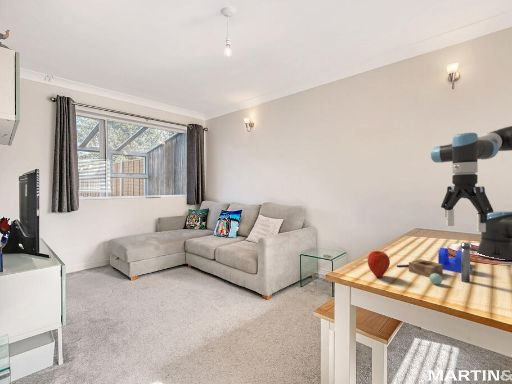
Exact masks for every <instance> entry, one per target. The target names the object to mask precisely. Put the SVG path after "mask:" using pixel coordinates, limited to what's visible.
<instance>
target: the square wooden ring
mask: <svg viewBox="0 0 512 384" xmlns="http://www.w3.org/2000/svg"><path fill="white" fill-rule="evenodd" d="M408 265H409V266H408V272H409V273H413V274H416V275H419V276H423V277H427V278H430V275H431V274H434V273H436V274H439V275H440V276H441V275H442V274H444V273H443V272H444V271H443V264H439V263H438V262H434V261H431V260H430V261H429V260H426V259H422V258H421V259H420V258H419V259H417V260H413V261H409V262H408Z"/></svg>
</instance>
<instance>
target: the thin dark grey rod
mask: <svg viewBox="0 0 512 384" xmlns="http://www.w3.org/2000/svg"><path fill="white" fill-rule="evenodd" d="M396 267H397V268H402V267H403V268H404V267H407V268H409V264H397V265H396Z"/></svg>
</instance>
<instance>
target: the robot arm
mask: <svg viewBox="0 0 512 384" xmlns="http://www.w3.org/2000/svg"><path fill="white" fill-rule="evenodd" d="M508 151H512V125H511V126H506V127H503V128H499V129H497V130H496V129H495V130H493V131H490V132H486V133H484V134H482V135H481V136H478V134H477V132H463V133H458V134H455V135H454V136H453V137H452V143H448V144H445V145H439V146H435V147H433V148H432V149H431V151H430V159H431V161H433V162H434V163H450V162H452V174H453V175H451V176H452V178H451V179H452V181H451V182H452V185H451V186H450V185H449V186H447V189H446V193H445V195H444V198H443V200H442V203H441V206H440V207H441V209H444V210H445V218H446V220H445V223H446V227H454V226H455V210H454V207H456V205H457V203H458V202H459V201H460V199H467V200H469V201H470V203H471V204H472V205H473V207H474V209H475V210H476V212H478V213H476V232H477V233H480V234H481V235H480V237H481V238H480V242H479V245H478V248H477V249H476V254H477V253H479V254H482V255H485V256H489V257H494V258H499V259H505V260H512V210H511V211H503V210H502V211H494V209H493V206H492V204H491V202H490V200H489V197H488V196H487V194H486V189H485V186H481V185H480V186H476V185H477V184H478V182H479V180H478V178H479V177H478V174H477V173H478V172H479V169H478V168H479V166H478V160H489V159H492V158H494V157H496V156H497V155H498V153H499V152H508Z"/></svg>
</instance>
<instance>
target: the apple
mask: <svg viewBox="0 0 512 384" xmlns="http://www.w3.org/2000/svg"><path fill="white" fill-rule="evenodd" d="M390 261H391V260H390V256H388V254H387V253H385V252H384V251H381V250H373V251H372V252H370V253H369V254H368V257H367V266H368V269H369V270H370V271H371V273H372V274H373V275H374V276H375V277H376V278H381V277H383V275H385V273H386V272H387V271H388V269H389V268H390V265H391V264H390V263H391V262H390Z"/></svg>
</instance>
